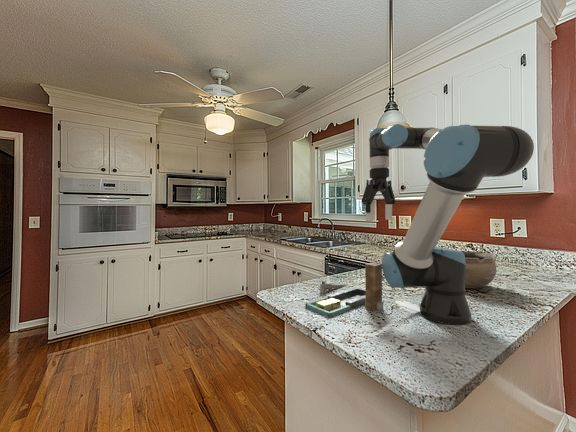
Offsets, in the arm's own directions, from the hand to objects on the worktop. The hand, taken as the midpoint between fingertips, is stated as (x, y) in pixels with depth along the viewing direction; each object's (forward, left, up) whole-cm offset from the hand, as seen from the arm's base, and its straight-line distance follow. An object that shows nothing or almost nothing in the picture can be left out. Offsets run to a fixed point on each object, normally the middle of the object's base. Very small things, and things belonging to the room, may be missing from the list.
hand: (379, 220), depth 110 cm
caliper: (+17, +8, -32) cm, 37 cm away
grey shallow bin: (+3, +13, -32) cm, 35 cm away
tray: (+3, +28, -32) cm, 42 cm away
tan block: (+3, +29, -31) cm, 43 cm away
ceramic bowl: (-17, -44, -32) cm, 57 cm away
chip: (+3, +25, -31) cm, 40 cm away
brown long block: (-8, +15, -32) cm, 36 cm away
